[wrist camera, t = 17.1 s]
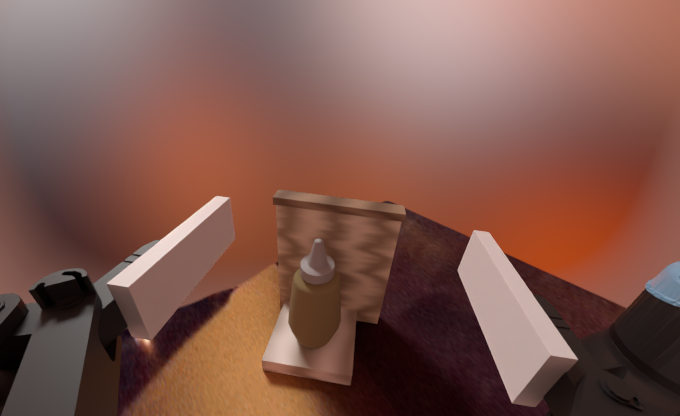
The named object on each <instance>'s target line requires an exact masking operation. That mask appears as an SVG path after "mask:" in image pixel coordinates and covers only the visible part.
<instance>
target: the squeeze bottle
mask: <svg viewBox="0 0 680 416" xmlns="http://www.w3.org/2000/svg"><path fill="white" fill-rule="evenodd" d="M340 322H341V296H340V277H339V274H338V272H337V271H336V270H335V263H334V260H333V259H332V258H331V257H330V256H328V255H326V252H325V247H324V242H323V240H322V239H315V240H314V243H313V247H312V250H311V253H310V254H308V255H307V256H305V257H304V258H303V259H302V260H301V262H300V268H299V269H297V271H296V273H295V274H294V277H293V285H292V293H291V300H290V308H289V318H288V324H289V326H290V328H291V330H292V332H293V334H294V336H295V337H296V339H297V340H298V342H299V343H300V344H301V345H302V346H304V347H306V348H310V349H317V348H320V347H323V346H325V345H326V344H327V343H328V342H329V341H330V339H331V338H332V337H333V335H334V334H335V333H336V331H337V330H338V328H339V325H340Z"/></svg>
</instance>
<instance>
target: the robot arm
mask: <svg viewBox="0 0 680 416" xmlns="http://www.w3.org/2000/svg"><path fill="white" fill-rule="evenodd" d="M234 240H235V232H234V225H233V217H232V210H231V203H230V198H228V197H220V196H216V197H215V198H213V199H212V200H211V201H210V202H209V203H207V204H206V205H205V206H203V207H202V208H201V209H199V211H197V212H196V213H194V214H193V215H192V216H191V217H189V218H188V219H187V220H186V221H184V222H183V223H182V224H181V225H179V226H178V227H177V228H176V229H174V230H173V231H172V232H171V233H169V234H168V235H167V236H166V237H164V238H163V239H162V240H155V241H153V242H151V243H149V244H146V245H144V246H143V247H141V248H140V249H139V250H137V251H136V252H135V253H133V255H131V256H129V257H128V258H127V259H125V260H124V262H121V263H120V264H119V265H118V266H116V267H115V268H114V269H112V270H111V271H110V272H108V273H107V274H106V275H104V276H103V277H102V278H101V279H99V280H98V281H96V282H95V283H94V284H93V283H92V281H91V279H90V278H89V276H88V274H87V272H86V271H84V270H82V269H75V268H73V269H66V270H62V271H59V272H56V273H52V274H50V275H48V276H46V277H44V278H42V279H41V280H39V281H38V282H37V283H35V284H33V286H32V287H31V288H30V289H29V292H30V293H31V295H32V296H33V298H34V299H35V300H36V302H37V303H29V304H25V303H24V302H23V300H22V299H21V298H20V296H19V295H16V294H1V295H0V416H117V403H118V389H119V374H120V360H121V345H122V340H121V337H120V334H121V333H122V332H123V331H124V330H125V329H126V328H127V327H128V329H129V331H130V333H131V335H132V337H135V338H141V339H147V340H152V339H153V338H154V336H155V335H156V334H157V333H158V332H159V330H160V329H161V328H162V327H163V326H164V324H165V323H166V322H167V321H168V319H169V318H170V317H171V316H172V315H173V313H174V312H175V311H176V310H177V309H178V307H179V306H180V305H181V304H182V303H183V301H184V300H185V299H186V298H187V297H188V295H189V294H190V293H191V292H192V290H193V289H194V288H195V287H196V286H197V284H198V283H199V282H200V281H201V280H202V278H203V277H204V276H205V275H206V274H207V272H208V271H209V270H210V269H211V267H212V266H213V265H214V264H215V263H216V261H217V260H218V259H219V258H220V257H221V255H222V254H223V253H224V252H225V251H226V249H227V248H228V247H229V246H230V245H231V243H232V242H233V241H234ZM458 273H459V275H460V278H461V280H462V283H463V285H464V288H465V290H466V292H467V295H468V297H469V300H470V302H471V305H472V307H473V309H474V312H475V314H476V317H477V319H478V322H479V324H480V326H481V329H482V331H483V334H484V336H485V339H486V341H487V344H488V346H489V348H490V351H491V353H492V356H493V358H494V361H495V363H496V365H497V368H498V370H499V373H500V375H501V378H502V380H503V382H504V385H505V387H506V390H507V392H508V395H509V397H510V399H511V402H512V403H514V404H520V405H525V406H531V407H536V406H537V405H538V404H539V403H540V401H541V400H542V399H543V398H544V399H545V401H546V403H547V405H548V407H549V409H550V411H549V412H548V413H547V414H546V415H545V416H680V261H678V262H675V263H672V264H670V265H668V266H667V267H666V268H665V269H664V270H663V271H662V272H660V273H659V275H657V276H656V277H655V278H654V279H652V280H650V281H648V282H647V284H646V285H645V287H646V289H645V290H644V291H643V292H642V293H641V294H640V295H639V296H638V297H637V298H636V299H635V300H634V301H633V302H632V304H631V305H630V306H629V307H628V308H627V309H626V310H625V311H624V312H623V313H622V314H621V315H620V316H619V317H618V318H617V319H616V321H615V322H614V323H613V324H612V325H611V326H610V327H609V328H608V329H605V330H603V331H600V332H597V333H595V334H592V335H590V336H587V337H585V338H582V339H580V340H579V339H578V338H577V337H576V335H575V334H574V333H573V331H571V330H570V328H569V326H568V325H567V324H566V322H565V321H563V320H562V317H561V316H560V314H559V313H558V312H557V310H556V309H555V308H554V306H553V305H551V304H550V303H549V302H548V301H547V300H545V299H544V298H543V297H542V296H541V295H534V294H532V293H531V292H530V290H529V289H528V287H527V286H526V284H525V283H524V282H523V280H522V279H521V277H520V276H519V274H518V273H517V272H516V270H515V269H514V267H513V266H512V264H511V263H510V262H509V260H508V259H507V257H506V256H505V254H504V253H503V252H502V250H501V249H500V247H499V246H498V244H497V243H496V242H495V240H494V239H493V237H492V236H491V235H490V233H489V232H483V231H476V230H474V231H473V233H472V236H471V238H470V241H469V243H468V246H467V248H466V251H465V253H464V256H463V258H462V261H461V263H460V266H459V268H458Z"/></svg>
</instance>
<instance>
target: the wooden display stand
mask: <svg viewBox="0 0 680 416" xmlns="http://www.w3.org/2000/svg"><path fill="white" fill-rule="evenodd" d="M273 204H274V205H276V217H277V239H278V264H279V288H280V308H281V309H282V310H281V312H280V315H279V317H278V320H277V323H276V325H275V328H274V330H273V333H272V335H271V338H270V340H269V343H268V346H267V348H266V351H265V353H264V356H263V358H262V367H263V370H265V371H270V372H276V373H282V374H287V375H293V376H299V377H304V378H310V379H316V380H321V381H327V382H333V383H338V384H344V385H349V386H350V385H351V379H352V371H353V358H354V345H355V331H356V321H362V322H368V323H375V324H378V319H379V315H380V311H381V307H382V302H383V298H384V294H385V290H386V285H387V281H388V277H389V273H390V268H391V264H392V260H393V256H394V251H395V247H396V243H397V239H398V234H399V230H400V226H401V222H404V220H405V216H406V213H405V208H404V206H402V205H394V204H387V203H379V202H371V201H363V200H355V199H348V198H340V197H332V196H325V195H317V194H309V193H302V192H294V191H286V190H278V191H277V193H276V194H275V195H274V196H273ZM315 239H322V240H323V242H324V247H325V252H326V255H328V256H330V257H331V258H332V259H333V260H334V263H335V270H336V271H337V272H338V274H339V277H340V296H341V322H340V325H339V328H338V330H337V331H336V333H335V334H334V335H333V337H332V338H331V339H330V341H329V342H328V343H327V344H326V345H325V346H323V347H320V348H317V349H310V348H306V347H304V346H302V345H301V344H300V343H299V342H298V340H297V339H296V337H295V336H294V334H293V332H292V330H291V328H290V326H289V324H288V318H289V308H290V300H291V293H292V285H293V277H294V274H295V273H296V271H297V269H299V268H300V262H301V260H302V259H303V258H304V257H305V256H307V255H308V254H310V253H311V250H312V247H313V243H314V240H315Z"/></svg>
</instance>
